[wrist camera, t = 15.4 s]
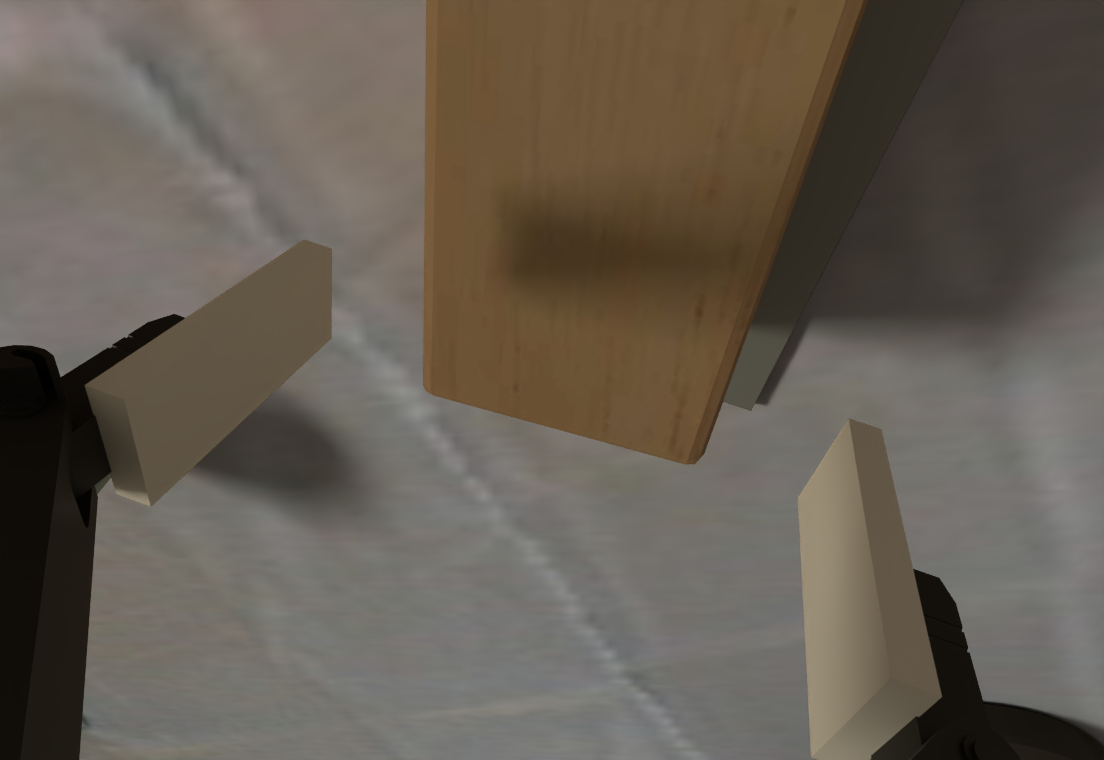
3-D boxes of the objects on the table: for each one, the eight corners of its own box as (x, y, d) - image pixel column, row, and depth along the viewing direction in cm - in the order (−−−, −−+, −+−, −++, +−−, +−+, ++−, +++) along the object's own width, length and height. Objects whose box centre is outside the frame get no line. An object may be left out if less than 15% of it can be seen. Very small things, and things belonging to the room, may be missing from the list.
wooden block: (717, 325, 30) (921, -301, 18) (699, 474, 22) (1046, -478, 10) (506, 274, 31) (564, -340, 19) (417, 397, 23) (418, -523, 11)
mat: (1217, -505, 15) (1231, -518, 15) (751, 403, 32) (750, 410, 32) (560, -630, 17) (554, -645, 16) (446, 304, 34) (442, 309, 33)
